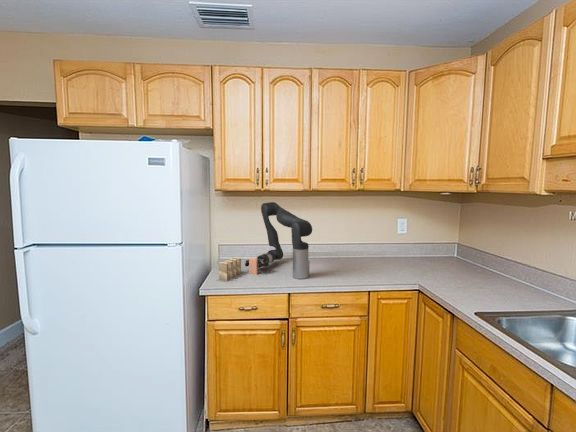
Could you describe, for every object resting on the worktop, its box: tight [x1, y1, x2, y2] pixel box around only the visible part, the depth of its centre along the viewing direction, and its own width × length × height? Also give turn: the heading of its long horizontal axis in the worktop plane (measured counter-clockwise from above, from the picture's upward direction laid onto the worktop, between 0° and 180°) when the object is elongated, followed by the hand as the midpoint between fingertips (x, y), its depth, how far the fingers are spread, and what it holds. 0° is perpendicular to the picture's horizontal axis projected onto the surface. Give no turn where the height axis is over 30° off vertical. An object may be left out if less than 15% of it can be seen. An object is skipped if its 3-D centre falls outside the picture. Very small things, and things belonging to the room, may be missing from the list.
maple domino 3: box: [227, 258, 237, 277], centre depth 195 cm, size 2×5×10 cm, turn 67°
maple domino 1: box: [218, 261, 228, 281], centre depth 187 cm, size 2×5×10 cm, turn 67°
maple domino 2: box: [223, 260, 233, 279], centre depth 191 cm, size 2×5×10 cm, turn 67°
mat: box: [215, 270, 249, 283], centre depth 196 cm, size 23×8×1 cm, turn 157°
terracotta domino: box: [248, 257, 259, 276], centre depth 200 cm, size 2×5×10 cm, turn 67°
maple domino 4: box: [231, 256, 242, 275], centre depth 199 cm, size 2×5×10 cm, turn 67°
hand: (251, 265), depth 198 cm, fingers open, 8 cm apart
